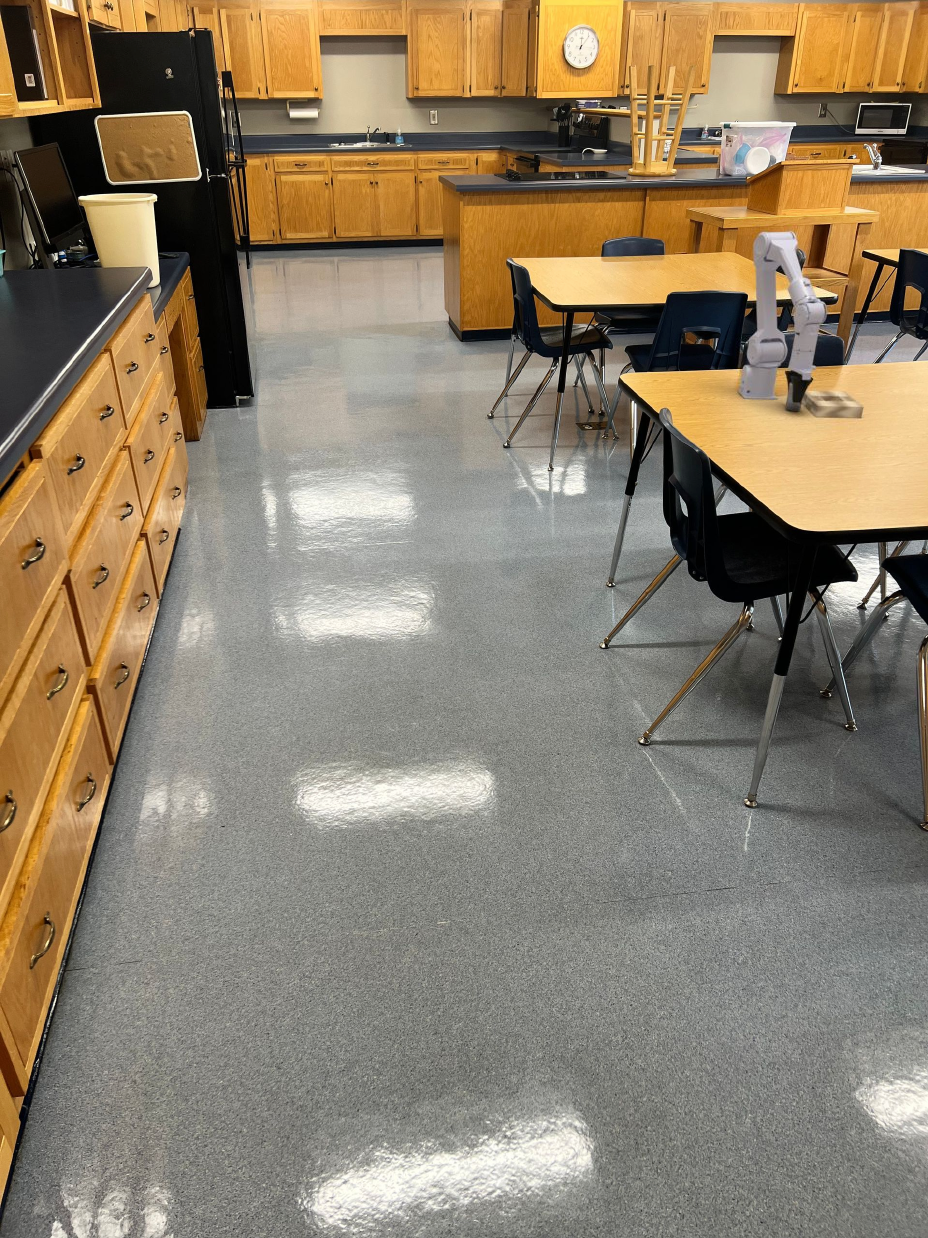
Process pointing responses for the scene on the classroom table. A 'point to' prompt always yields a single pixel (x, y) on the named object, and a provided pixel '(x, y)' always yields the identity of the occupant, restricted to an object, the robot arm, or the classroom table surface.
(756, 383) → the robot arm
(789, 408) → the pin
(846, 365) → the classroom table surface
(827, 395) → the block
